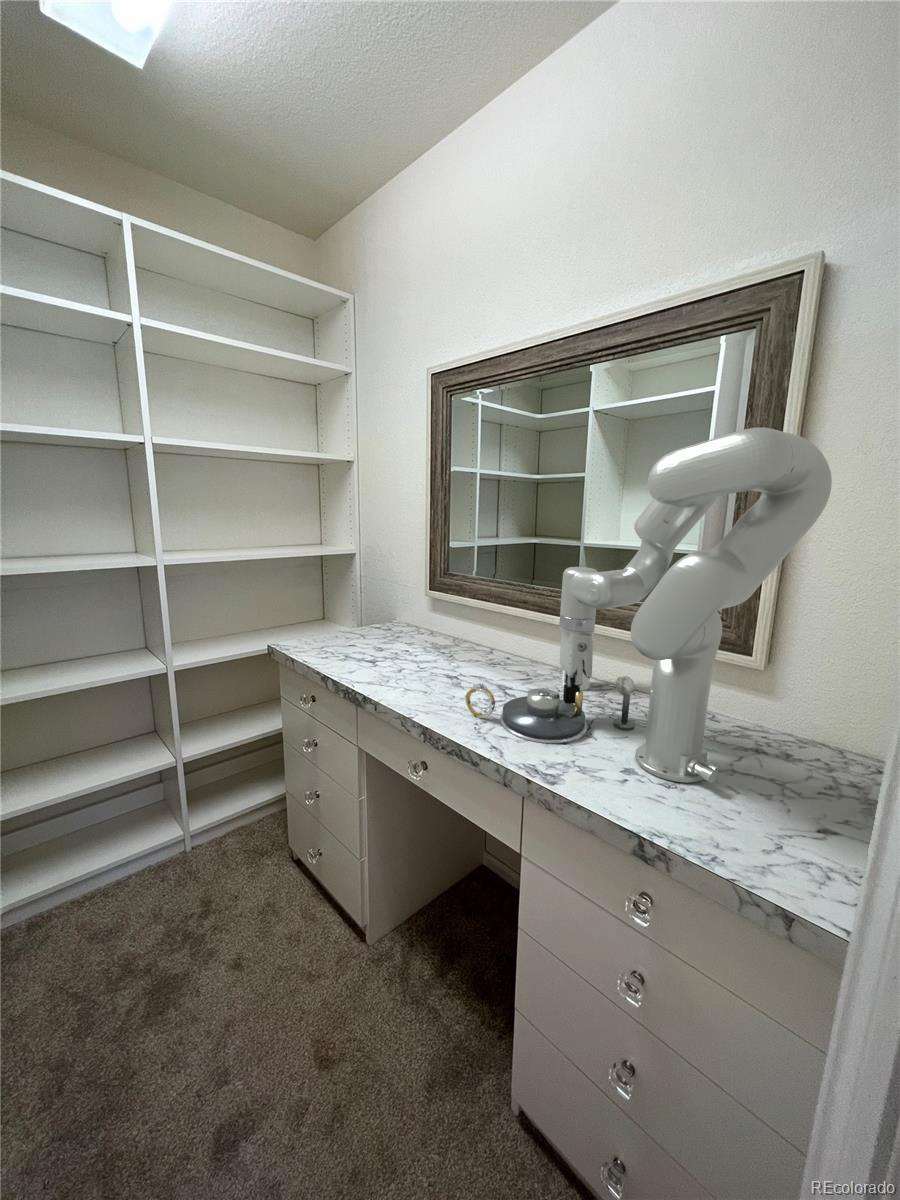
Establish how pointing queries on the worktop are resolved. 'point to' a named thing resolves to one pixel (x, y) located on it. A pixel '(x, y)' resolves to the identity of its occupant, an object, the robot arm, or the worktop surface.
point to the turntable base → (550, 741)
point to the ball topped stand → (624, 703)
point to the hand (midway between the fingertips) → (570, 701)
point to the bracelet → (484, 689)
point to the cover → (543, 703)
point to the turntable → (545, 719)
